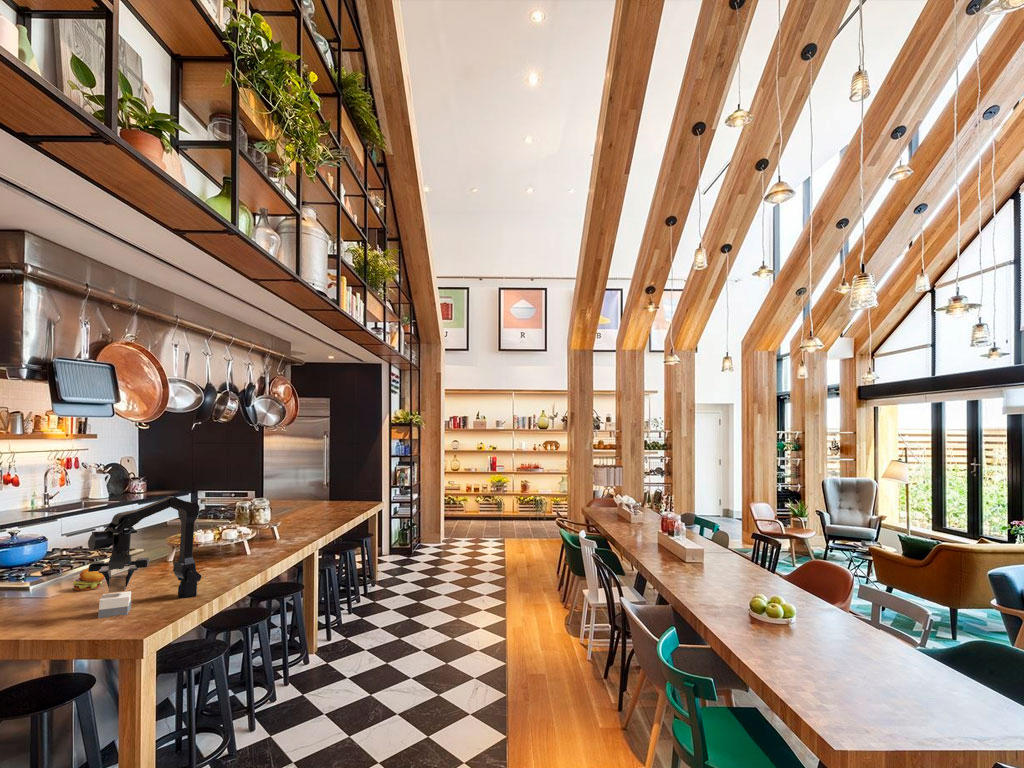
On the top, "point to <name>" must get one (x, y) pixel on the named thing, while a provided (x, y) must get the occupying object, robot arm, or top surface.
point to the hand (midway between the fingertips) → (117, 587)
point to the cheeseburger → (88, 580)
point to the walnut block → (117, 583)
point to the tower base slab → (114, 611)
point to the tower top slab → (115, 600)
